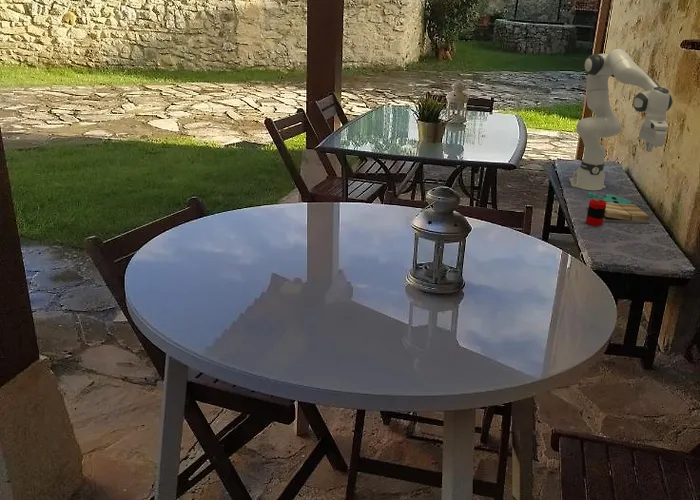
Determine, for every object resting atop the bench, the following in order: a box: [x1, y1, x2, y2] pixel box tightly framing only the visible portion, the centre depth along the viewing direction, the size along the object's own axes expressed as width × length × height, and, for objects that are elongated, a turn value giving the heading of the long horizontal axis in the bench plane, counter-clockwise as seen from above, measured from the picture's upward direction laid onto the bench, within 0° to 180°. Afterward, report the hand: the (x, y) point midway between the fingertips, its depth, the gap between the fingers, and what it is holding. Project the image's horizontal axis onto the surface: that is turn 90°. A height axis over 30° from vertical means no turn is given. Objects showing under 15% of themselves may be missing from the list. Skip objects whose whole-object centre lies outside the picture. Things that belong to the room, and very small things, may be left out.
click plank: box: [604, 202, 632, 221], centre depth 330 cm, size 18×12×2 cm
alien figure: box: [587, 192, 633, 204], centre depth 351 cm, size 20×2×20 cm
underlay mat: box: [585, 206, 651, 225], centre depth 331 cm, size 20×24×1 cm
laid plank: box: [619, 203, 650, 221], centre depth 331 cm, size 18×8×2 cm, turn 0°
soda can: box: [585, 197, 607, 227], centre depth 318 cm, size 8×8×12 cm
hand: (648, 151), depth 326 cm, fingers closed
